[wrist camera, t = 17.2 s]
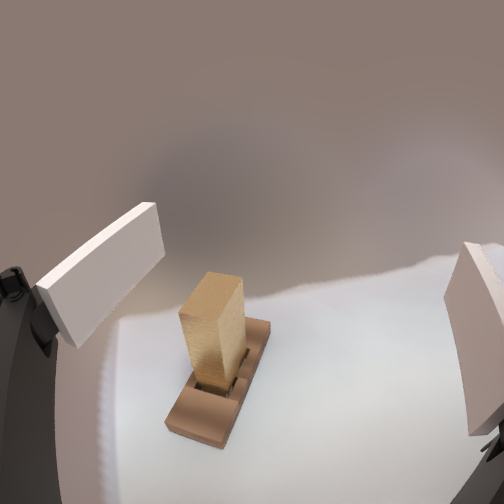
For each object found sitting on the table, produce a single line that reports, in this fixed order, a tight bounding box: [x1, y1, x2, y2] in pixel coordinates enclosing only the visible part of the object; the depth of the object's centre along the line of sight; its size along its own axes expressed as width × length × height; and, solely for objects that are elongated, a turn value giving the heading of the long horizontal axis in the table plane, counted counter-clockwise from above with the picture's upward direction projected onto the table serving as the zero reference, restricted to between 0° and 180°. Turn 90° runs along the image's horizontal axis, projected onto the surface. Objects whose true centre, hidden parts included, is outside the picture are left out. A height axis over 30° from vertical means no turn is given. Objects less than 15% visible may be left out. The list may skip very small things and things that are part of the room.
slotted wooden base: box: [165, 317, 270, 449], centre depth 37 cm, size 20×7×2 cm, turn 162°
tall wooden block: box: [178, 272, 247, 399], centre depth 34 cm, size 7×4×15 cm, turn 162°
